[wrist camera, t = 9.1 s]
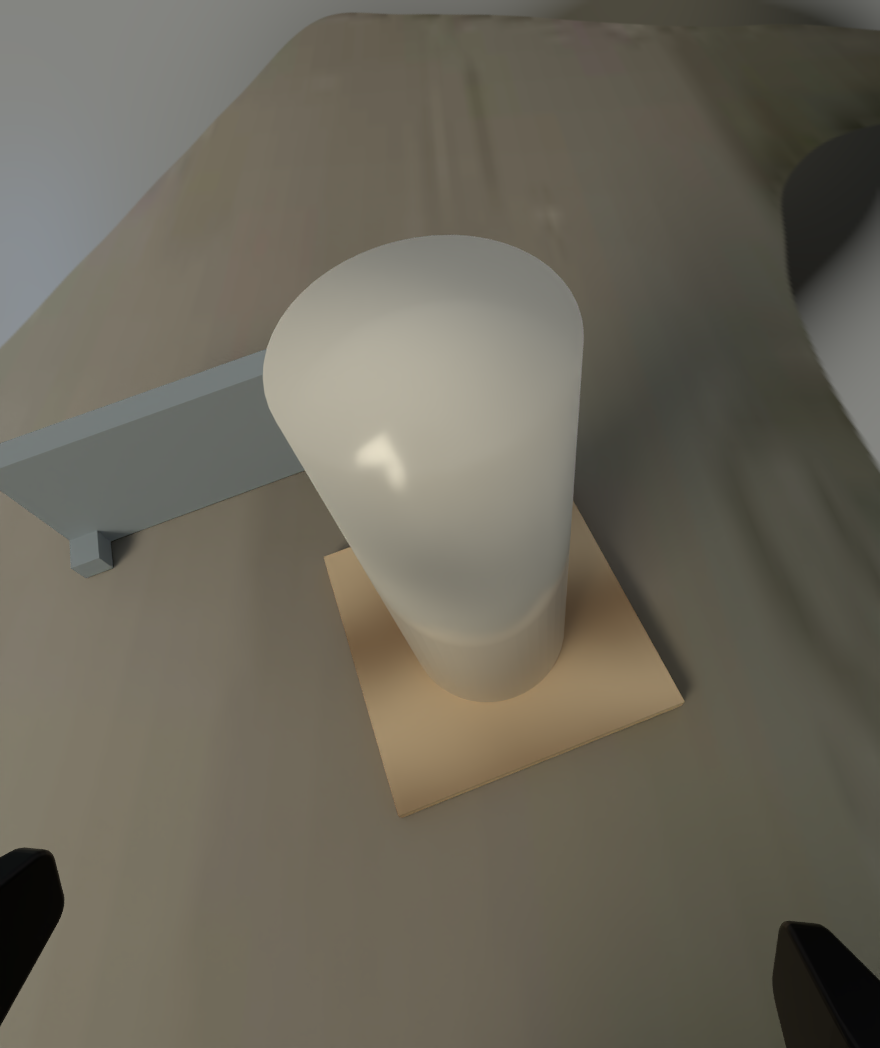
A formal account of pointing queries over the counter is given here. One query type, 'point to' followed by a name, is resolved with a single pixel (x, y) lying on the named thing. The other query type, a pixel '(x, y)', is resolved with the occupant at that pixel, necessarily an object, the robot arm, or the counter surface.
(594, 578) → the mat
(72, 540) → the screen
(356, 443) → the canister
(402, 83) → the counter surface
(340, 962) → the counter surface
